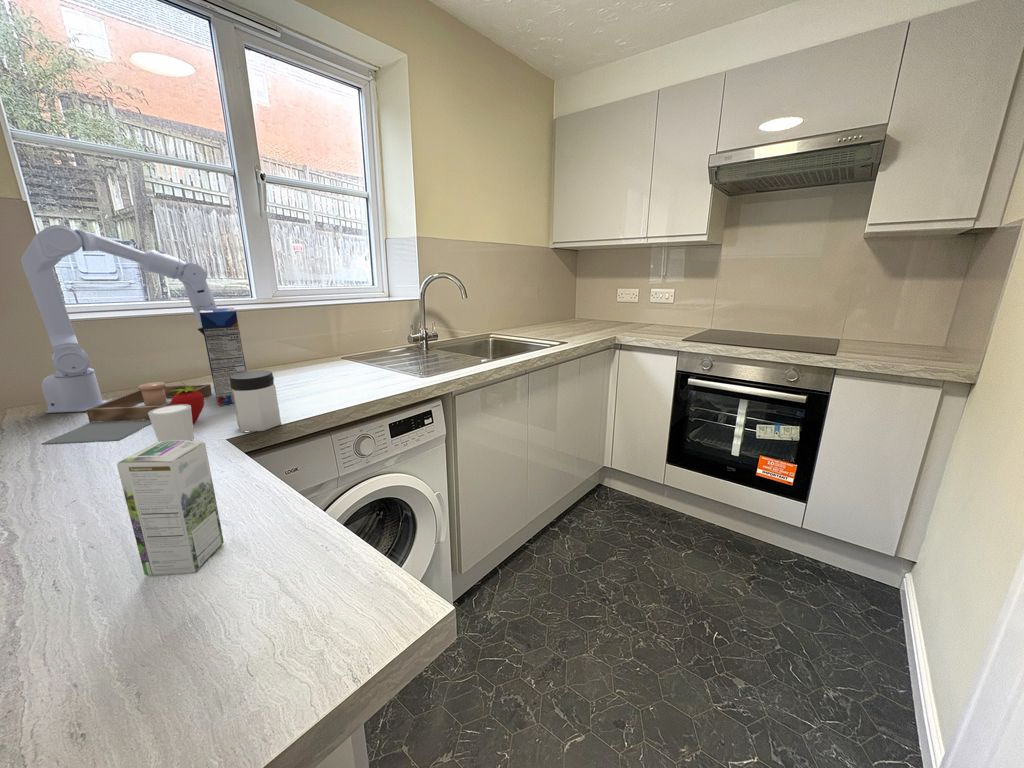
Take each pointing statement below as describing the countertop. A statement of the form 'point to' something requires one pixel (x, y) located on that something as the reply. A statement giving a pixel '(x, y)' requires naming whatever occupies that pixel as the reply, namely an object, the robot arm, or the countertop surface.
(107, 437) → the slate mat
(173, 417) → the white tapered pot
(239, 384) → the jar
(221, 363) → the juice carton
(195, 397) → the strawberry
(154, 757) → the countertop surface
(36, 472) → the countertop surface
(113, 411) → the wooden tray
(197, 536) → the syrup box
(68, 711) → the countertop surface
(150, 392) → the wooden drawer knob
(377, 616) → the countertop surface
